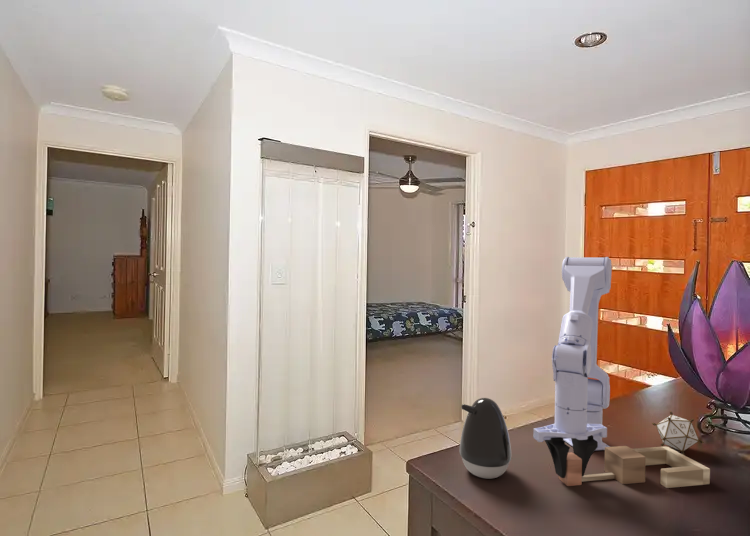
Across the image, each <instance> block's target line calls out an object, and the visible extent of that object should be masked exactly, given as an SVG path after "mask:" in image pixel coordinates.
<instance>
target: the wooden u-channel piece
mask: <svg viewBox="0 0 750 536" xmlns="http://www.w3.org/2000/svg"><path fill="white" fill-rule="evenodd" d="M632 449H633V450H635V451H636V452H638V453H640V454H642V455H643V456H645V457H646V461H645V466H655V465H665V464H666V465H668V466H670V467H666V468H660V478H659V479H660V482H659V484H660V485H662V486H663V487H665V489H669V488H670V489H671V488H680V487H681V488H682V487H683V488H684V487H692V486H693V487H694V486H703V485H710V479H711V468H709V467H707V466H706V465H703V464H702V463H700V462H698V461H696V460H694V459H692V458H690V457H688V456H686V455H685V454H684V455H683V454H682V452H681V453H680V451H678V450H676V449H674V448H672V447H670V446H667V445H665V446H664V445H663V446H653V447H651V446H650V447H638V448H632Z"/></svg>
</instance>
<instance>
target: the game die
mask: <svg viewBox="0 0 750 536" xmlns="http://www.w3.org/2000/svg"><path fill="white" fill-rule="evenodd" d="M694 420H695V418H690V420H689V419H686V418H684V417H681V416H679V415H678V416H677V415H675V414H674V413H673V411H671V410H670V411H669V415H668V416H667V417H664V419H662V420H661V421H659V422H657V423H654V422H651V424H652V425H653V426H655V427H656V429H657V432H658V434H659V437H660V439H661V442H662V443H661V444H660V447H663V446H664V445H665V446H667V447H669V448H671V449H674V450H676V451H678V452H681V454H683V455H685V451H686V450H688V449H690V448H691V447H693V446H694V445H696V444H697V443H700V444H703V443H705V442H704V441H703V440H702V439H701V440H700V439H699V436H698V434H697V432H696V429H695V426H694V424H693V422H694Z"/></svg>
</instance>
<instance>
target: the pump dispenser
mask: <svg viewBox="0 0 750 536" xmlns="http://www.w3.org/2000/svg"><path fill="white" fill-rule="evenodd" d="M460 408H461V410H463V411H465V412H467V413H466V414H467V415H466V416H465V417H466V418H465V420H464V422H463V423H464V424H463V427H462V430H461V435H460V441H459V455H460V457H461V461H462V463H463V465H464V467H465V468H466V470H467V471H468V472H469V473H471V475H473V476H475V477H478V478H481V479H489V480H490V479H495V478H496V479H497V478H498V477H499V478H500V477H501V476H502V475H503V474H504V473H506V471H507V469H508V468H509V465H510V462H511V461H512V448H511V440H510V433H509V430H508V426H507V423H506V420H505V418H504V415H503V413H502V410H501V408H500V407H499V405H498V404H497V402H496V401H495V400H494V399H491V398H488V397H481V398H478V399H476V400H475V401H474V402H473V403H472V405H468V404H464V403H462V404H461V407H460Z"/></svg>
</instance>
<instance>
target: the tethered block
mask: <svg viewBox="0 0 750 536" xmlns="http://www.w3.org/2000/svg"><path fill="white" fill-rule="evenodd" d="M633 449H634V448H631V447H630V446H627V445H618V446H610V447H605V450H604V465H603V466H604V467H603V469H604V470H603V471H604V472H603V473H593V474H592V473H591V474H584V476H582V459H581V458H580V457H578V456H577V455H575V454H574V453H573V452H570V451H569V452H568V455H567V460H566V475H565V478H561V477H560V476H559V475H557V476H558V477H557V479H558V480H559V481H561V482H562V483H563V484H564V485H565V486H566V487H574V486H582V482H583V483H584V482H590V481H602V480H603V481H604V480H613V479H614V480H616V482H618V483H620V484H622V485H628V484H629V485H630V484H638V483H639V484H640V483H646V465H645V461H646V457H645V456H643V455H642V454H640V453H638V452H636V451H635V450H633Z"/></svg>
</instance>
